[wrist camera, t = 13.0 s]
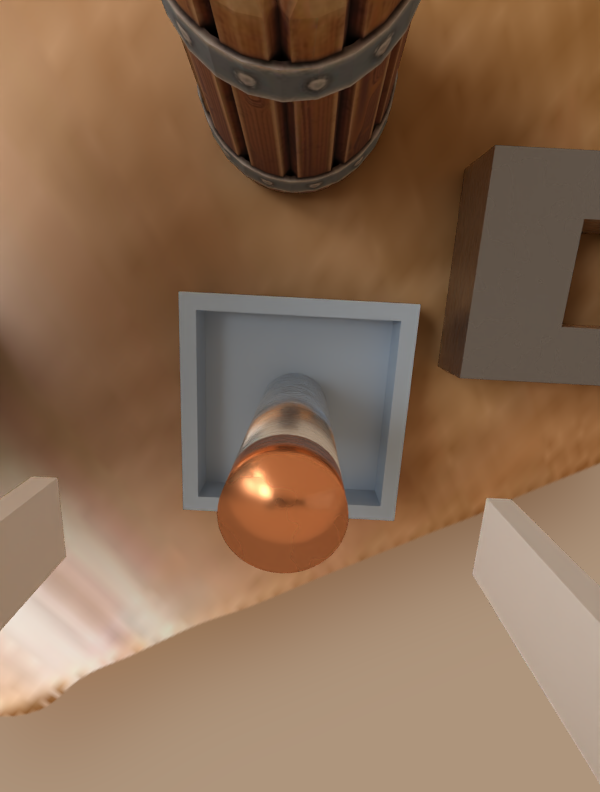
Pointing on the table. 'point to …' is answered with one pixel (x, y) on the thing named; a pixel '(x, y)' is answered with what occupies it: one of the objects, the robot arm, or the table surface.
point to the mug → (294, 81)
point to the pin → (286, 482)
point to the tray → (304, 354)
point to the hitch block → (521, 267)
